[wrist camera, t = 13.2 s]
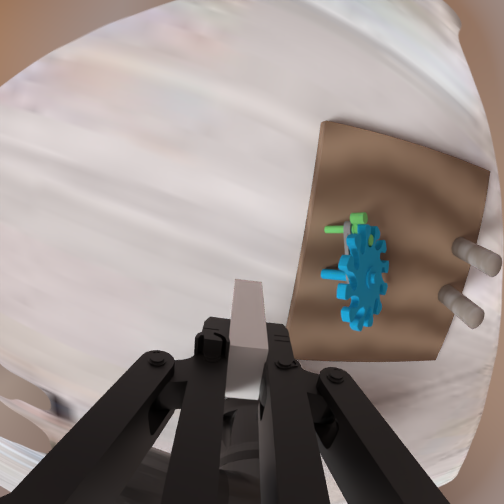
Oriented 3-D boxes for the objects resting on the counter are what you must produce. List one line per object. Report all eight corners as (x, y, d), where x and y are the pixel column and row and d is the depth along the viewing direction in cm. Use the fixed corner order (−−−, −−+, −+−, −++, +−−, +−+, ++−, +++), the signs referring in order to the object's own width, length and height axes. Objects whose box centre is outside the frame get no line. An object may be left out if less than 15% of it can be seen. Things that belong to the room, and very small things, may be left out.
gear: (393, 310, 31) (352, 350, 24) (347, 304, 35) (296, 337, 28) (391, 208, 29) (347, 216, 23) (342, 209, 34) (287, 219, 27)
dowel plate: (429, 352, 37) (459, 390, 29) (281, 348, 36) (289, 399, 28) (480, 170, 30) (528, 177, 21) (320, 122, 29) (348, 110, 20)
